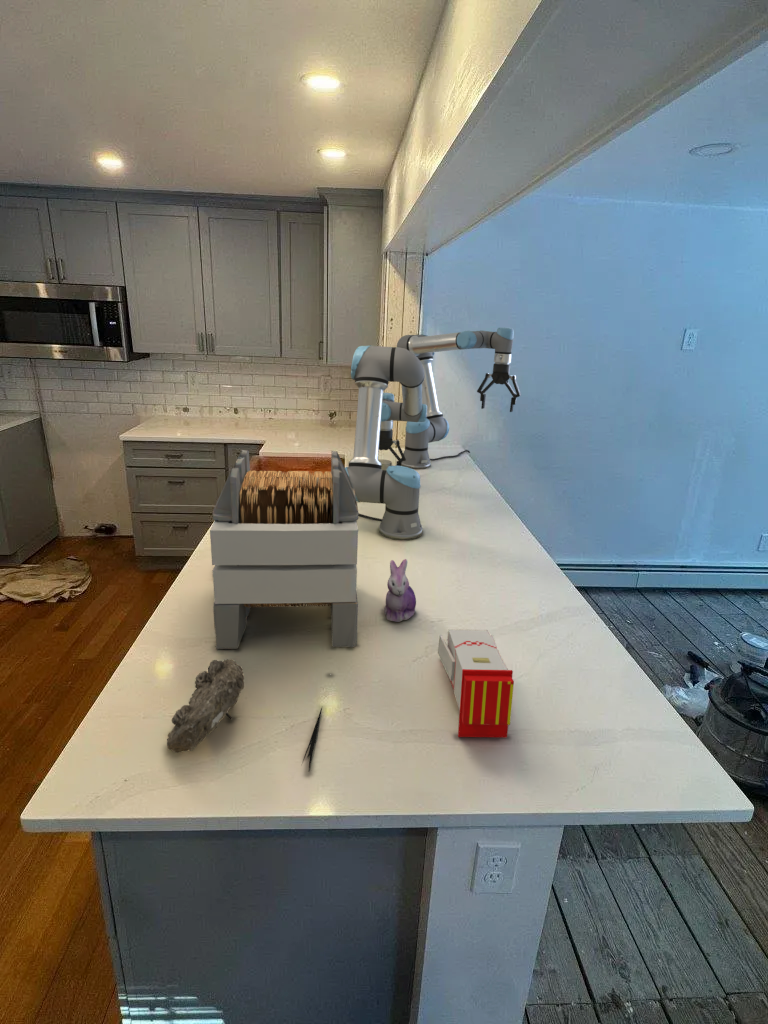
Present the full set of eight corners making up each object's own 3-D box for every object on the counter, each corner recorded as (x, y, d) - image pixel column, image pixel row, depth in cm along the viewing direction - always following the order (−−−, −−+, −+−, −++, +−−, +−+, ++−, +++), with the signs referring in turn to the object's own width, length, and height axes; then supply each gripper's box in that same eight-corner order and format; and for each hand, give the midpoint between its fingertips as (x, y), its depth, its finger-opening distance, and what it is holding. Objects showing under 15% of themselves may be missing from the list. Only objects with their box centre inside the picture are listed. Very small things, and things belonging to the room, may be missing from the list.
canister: (387, 480, 261) (388, 459, 257) (392, 486, 253) (394, 463, 250) (370, 481, 258) (371, 459, 255) (375, 486, 251) (376, 464, 248)
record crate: (234, 582, 160) (226, 440, 146) (350, 581, 163) (353, 443, 150) (213, 651, 128) (201, 478, 114) (357, 647, 132) (363, 480, 118)
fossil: (192, 660, 117) (244, 628, 112) (224, 691, 120) (276, 661, 115) (142, 746, 98) (202, 712, 93) (182, 779, 101) (242, 748, 96)
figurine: (392, 627, 141) (395, 572, 136) (374, 608, 149) (376, 556, 144) (425, 619, 145) (429, 566, 140) (405, 601, 154) (408, 550, 149)
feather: (331, 679, 122) (336, 673, 122) (307, 777, 96) (313, 769, 95) (324, 675, 122) (329, 669, 121) (298, 772, 95) (304, 764, 95)
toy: (488, 613, 130) (523, 677, 101) (484, 667, 133) (517, 744, 104) (435, 612, 130) (455, 676, 101) (432, 666, 133) (451, 743, 103)
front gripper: (411, 427, 252) (408, 473, 260) (355, 426, 249) (354, 473, 257) (413, 431, 245) (410, 478, 253) (356, 430, 242) (355, 477, 250)
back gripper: (473, 361, 260) (468, 408, 267) (527, 366, 250) (521, 414, 257) (478, 360, 266) (473, 406, 273) (531, 365, 256) (525, 411, 264)
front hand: (382, 475), depth 255 cm, fingers open, 13 cm apart
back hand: (496, 410), depth 265 cm, fingers open, 13 cm apart
